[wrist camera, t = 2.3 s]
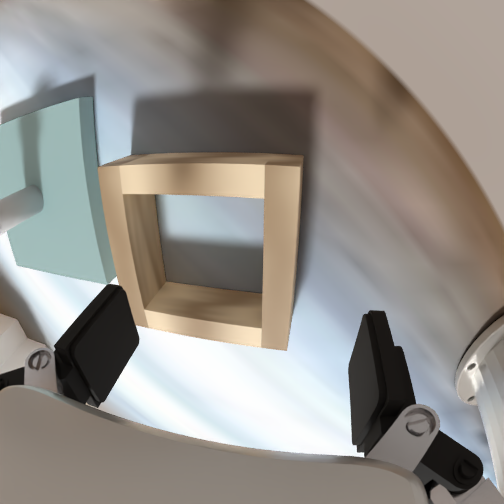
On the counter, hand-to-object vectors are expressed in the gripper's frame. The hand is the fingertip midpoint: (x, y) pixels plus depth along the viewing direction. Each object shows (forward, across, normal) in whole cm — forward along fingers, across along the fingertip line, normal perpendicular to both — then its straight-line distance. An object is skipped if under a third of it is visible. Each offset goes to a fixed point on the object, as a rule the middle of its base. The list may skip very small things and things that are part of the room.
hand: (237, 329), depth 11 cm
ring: (+9, +4, 0) cm, 9 cm away
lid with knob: (+9, +18, -2) cm, 21 cm away
